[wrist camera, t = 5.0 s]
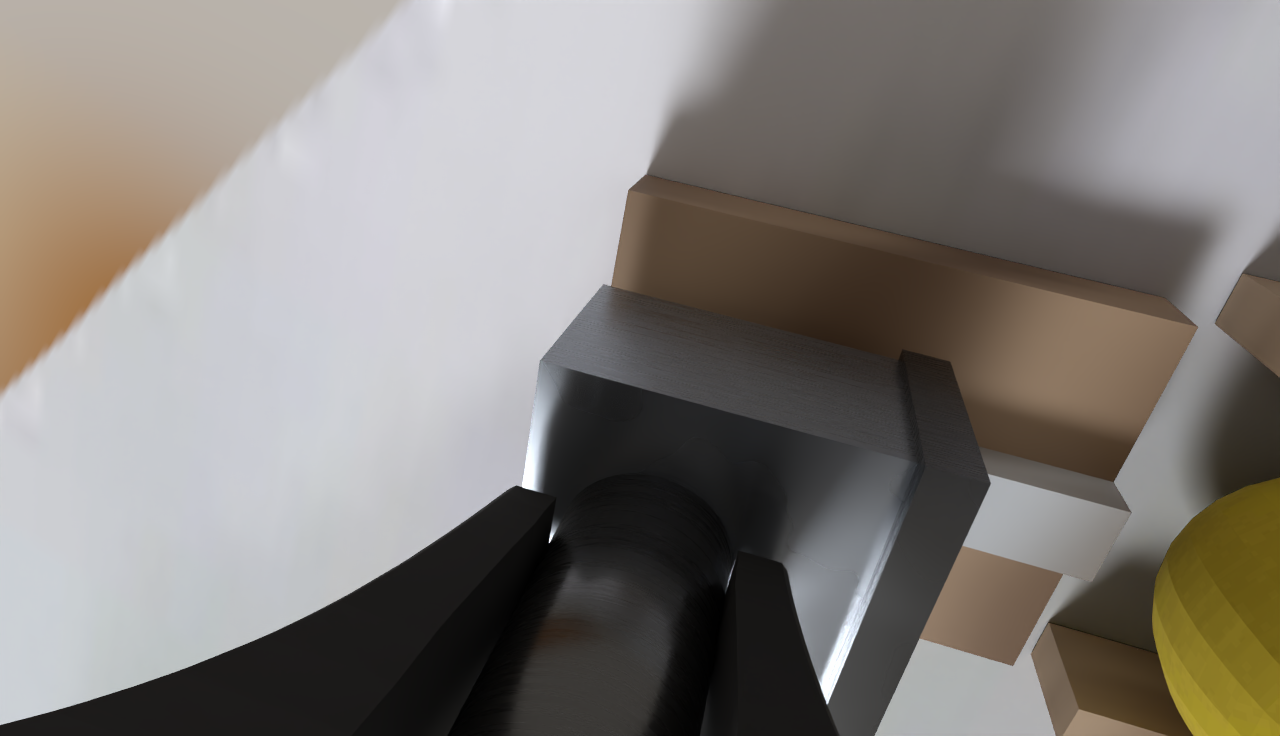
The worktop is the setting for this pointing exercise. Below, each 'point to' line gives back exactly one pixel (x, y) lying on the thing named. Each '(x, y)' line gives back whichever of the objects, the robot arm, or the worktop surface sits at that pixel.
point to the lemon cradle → (1114, 672)
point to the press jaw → (723, 516)
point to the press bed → (981, 360)
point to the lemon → (1224, 615)
